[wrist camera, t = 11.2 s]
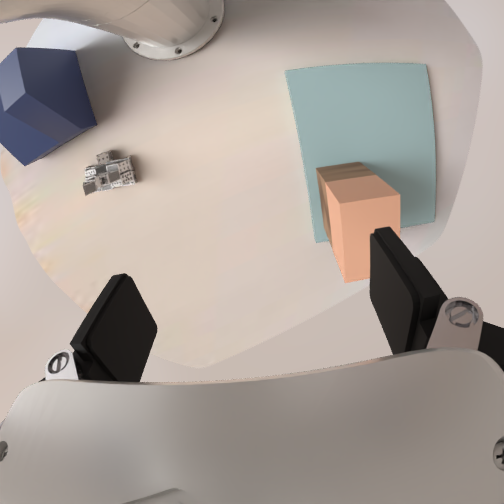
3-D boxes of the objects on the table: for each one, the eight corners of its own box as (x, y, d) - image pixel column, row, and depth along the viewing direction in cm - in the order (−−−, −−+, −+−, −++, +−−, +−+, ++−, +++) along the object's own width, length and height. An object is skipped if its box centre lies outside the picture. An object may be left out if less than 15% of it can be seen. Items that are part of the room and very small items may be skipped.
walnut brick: (315, 168, 33) (325, 182, 28) (359, 161, 32) (376, 175, 27) (323, 227, 37) (333, 251, 32) (363, 220, 36) (379, 242, 31)
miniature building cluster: (138, 116, 32) (110, 123, 25) (150, 180, 36) (126, 201, 29) (82, 132, 32) (48, 144, 26) (95, 190, 37) (66, 211, 30)
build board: (284, 71, 28) (285, 70, 27) (421, 64, 26) (425, 64, 25) (314, 238, 39) (316, 242, 38) (430, 218, 37) (434, 221, 36)
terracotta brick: (325, 182, 28) (339, 203, 23) (376, 174, 27) (400, 194, 22) (332, 251, 32) (345, 282, 27) (378, 242, 31) (398, 272, 26)
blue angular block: (40, 158, 34) (-13, 185, 23) (20, 92, 28) (-36, 105, 17) (97, 124, 32) (40, 142, 21) (75, 50, 26) (16, 47, 16)
